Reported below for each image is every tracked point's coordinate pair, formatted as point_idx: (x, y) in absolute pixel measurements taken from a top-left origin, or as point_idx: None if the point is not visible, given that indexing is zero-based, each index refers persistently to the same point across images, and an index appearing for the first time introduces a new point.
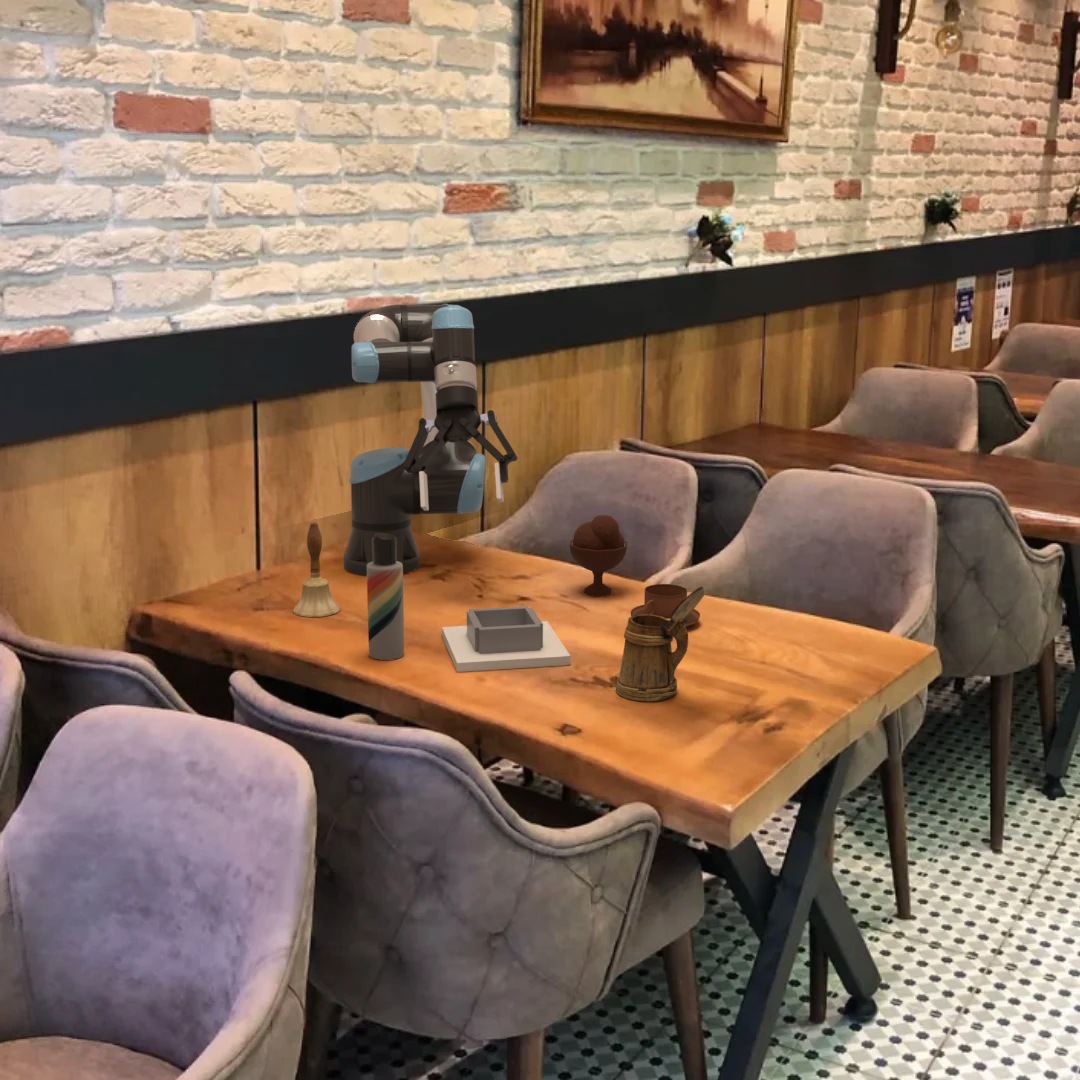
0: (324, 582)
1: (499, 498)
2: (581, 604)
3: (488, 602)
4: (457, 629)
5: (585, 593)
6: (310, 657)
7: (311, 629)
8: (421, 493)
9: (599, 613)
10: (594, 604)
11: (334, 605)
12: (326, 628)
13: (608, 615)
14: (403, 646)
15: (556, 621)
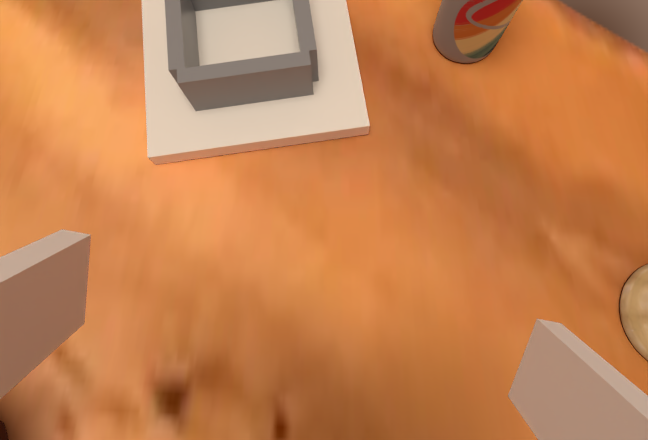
0: None
1: (72, 234)
2: None
3: (262, 369)
4: (337, 111)
5: (6, 437)
6: (598, 29)
7: (645, 180)
8: (613, 374)
9: None
10: None
11: (641, 301)
12: (614, 185)
13: None
14: (436, 18)
15: (126, 217)
